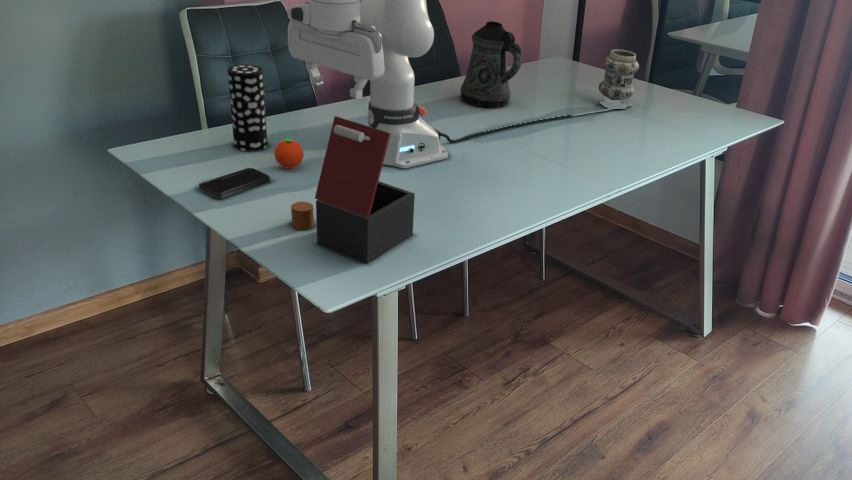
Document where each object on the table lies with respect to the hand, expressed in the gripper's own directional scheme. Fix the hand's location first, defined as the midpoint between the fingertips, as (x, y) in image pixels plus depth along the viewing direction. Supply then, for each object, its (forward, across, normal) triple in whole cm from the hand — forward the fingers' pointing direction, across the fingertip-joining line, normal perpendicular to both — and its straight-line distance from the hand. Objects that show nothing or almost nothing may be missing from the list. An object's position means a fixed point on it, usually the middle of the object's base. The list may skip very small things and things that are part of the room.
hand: (336, 92), depth 141 cm
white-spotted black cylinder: (+33, +53, -25) cm, 67 cm away
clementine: (+33, +36, -22) cm, 54 cm away
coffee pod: (+32, +12, -2) cm, 35 cm away
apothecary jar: (+34, -2, -134) cm, 139 cm away
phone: (+32, +37, -5) cm, 49 cm away
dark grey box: (+33, -2, -5) cm, 33 cm away
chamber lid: (+15, -3, -1) cm, 15 cm away
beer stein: (+34, +29, -105) cm, 114 cm away
